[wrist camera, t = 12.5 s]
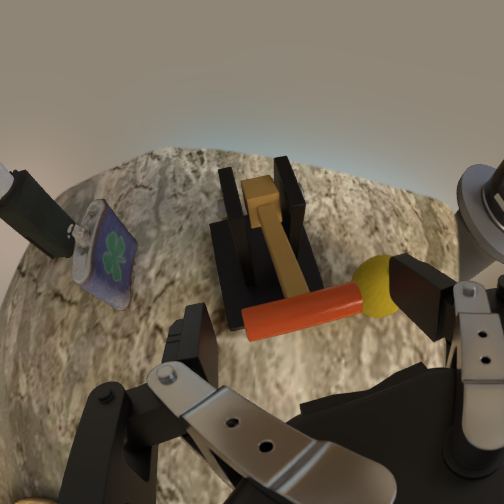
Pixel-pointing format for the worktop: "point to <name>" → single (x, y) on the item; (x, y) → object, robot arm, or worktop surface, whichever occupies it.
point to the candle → (35, 214)
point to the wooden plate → (35, 501)
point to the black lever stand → (258, 246)
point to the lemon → (375, 287)
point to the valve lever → (289, 275)
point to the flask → (104, 256)
